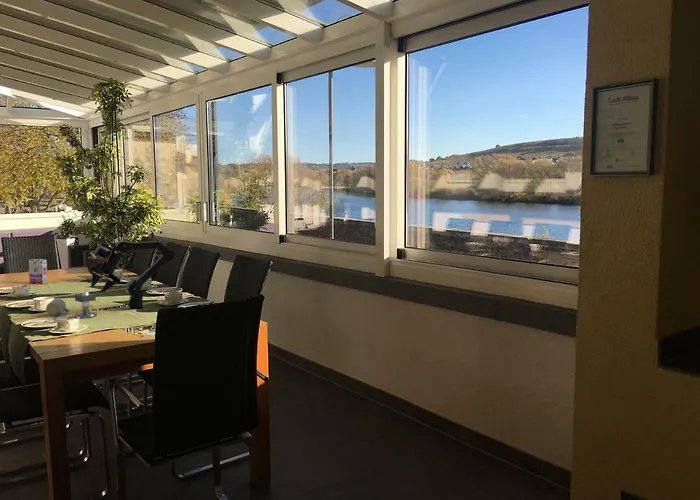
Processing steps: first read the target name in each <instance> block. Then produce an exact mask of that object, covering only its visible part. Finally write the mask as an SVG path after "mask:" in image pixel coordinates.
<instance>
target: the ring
mask: <svg viewBox="0 0 700 500" xmlns="http://www.w3.org/2000/svg"><path fill="white" fill-rule="evenodd" d="M88 294H89V295H84V296H83V295H82V293H79V294H74V300H75V302H78V303H82V302H88V301H89V302H94V301H96V300H97V297H96V294H95V293H90V292H88Z"/></svg>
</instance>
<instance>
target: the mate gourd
mask: <svg viewBox="0 0 700 500" xmlns="http://www.w3.org/2000/svg"><path fill="white" fill-rule="evenodd" d="M89 254H90V256H88V257H87V260H86V261H87V262H86V264H87V265H86V267H87V272H89V274H90V275H92V273H91V272H93V271H91V270H90V268H91V267H92V264H93V262H94V261H99V263H101V264H103V263H104V262H107V260H108V258H109V257H108V258H105V259H104V258H102V257H100V256H98V255H96V254H94V252H93V253H92V252H89ZM104 274H105V273H104ZM101 276H102V277H103V275H101ZM101 279H102V278H101ZM101 279H100V280H101Z"/></svg>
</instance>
